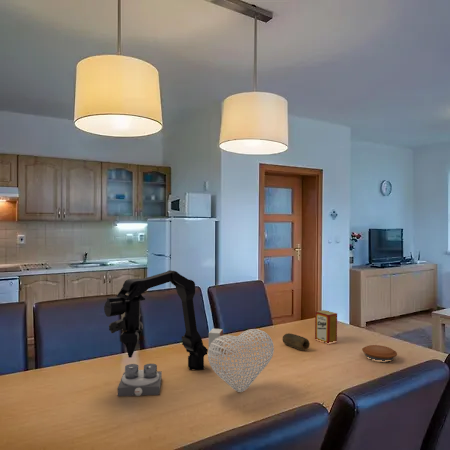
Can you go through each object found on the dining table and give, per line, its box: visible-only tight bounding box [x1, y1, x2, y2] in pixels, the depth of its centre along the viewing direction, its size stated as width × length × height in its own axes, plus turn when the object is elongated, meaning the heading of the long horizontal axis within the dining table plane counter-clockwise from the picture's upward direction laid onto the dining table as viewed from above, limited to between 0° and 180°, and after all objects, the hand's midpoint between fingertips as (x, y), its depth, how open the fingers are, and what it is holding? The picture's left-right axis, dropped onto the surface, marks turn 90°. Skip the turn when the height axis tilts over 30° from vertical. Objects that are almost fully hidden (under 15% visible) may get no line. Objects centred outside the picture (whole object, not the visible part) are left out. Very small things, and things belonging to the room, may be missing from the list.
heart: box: [207, 328, 275, 393], centre depth 149 cm, size 28×16×22 cm, turn 130°
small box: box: [207, 328, 224, 356], centre depth 194 cm, size 8×6×10 cm
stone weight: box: [282, 332, 311, 351], centre depth 203 cm, size 15×7×7 cm, turn 37°
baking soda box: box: [314, 309, 338, 343], centre depth 215 cm, size 10×6×16 cm
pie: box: [361, 344, 398, 361], centre depth 188 cm, size 16×16×5 cm
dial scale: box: [117, 369, 163, 397], centre depth 152 cm, size 15×16×4 cm
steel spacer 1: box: [124, 363, 139, 379], centre depth 152 cm, size 5×5×4 cm
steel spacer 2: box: [143, 363, 158, 379], centre depth 153 cm, size 5×5×4 cm
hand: (131, 353), depth 152 cm, fingers open, 9 cm apart
